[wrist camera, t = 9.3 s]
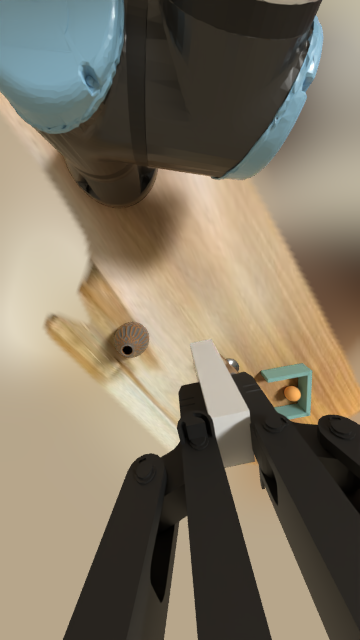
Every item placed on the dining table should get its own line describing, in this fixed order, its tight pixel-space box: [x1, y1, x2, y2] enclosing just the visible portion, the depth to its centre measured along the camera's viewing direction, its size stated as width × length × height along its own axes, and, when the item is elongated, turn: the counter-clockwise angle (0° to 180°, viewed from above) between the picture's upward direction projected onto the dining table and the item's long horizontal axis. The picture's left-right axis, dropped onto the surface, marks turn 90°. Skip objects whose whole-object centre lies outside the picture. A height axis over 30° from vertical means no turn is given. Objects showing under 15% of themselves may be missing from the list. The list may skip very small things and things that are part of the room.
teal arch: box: [261, 363, 312, 419], centre depth 50 cm, size 13×10×4 cm
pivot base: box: [225, 359, 239, 371], centre depth 48 cm, size 5×5×1 cm
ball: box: [284, 386, 301, 401], centre depth 50 cm, size 4×4×4 cm
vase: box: [114, 322, 149, 358], centre depth 40 cm, size 7×7×9 cm
